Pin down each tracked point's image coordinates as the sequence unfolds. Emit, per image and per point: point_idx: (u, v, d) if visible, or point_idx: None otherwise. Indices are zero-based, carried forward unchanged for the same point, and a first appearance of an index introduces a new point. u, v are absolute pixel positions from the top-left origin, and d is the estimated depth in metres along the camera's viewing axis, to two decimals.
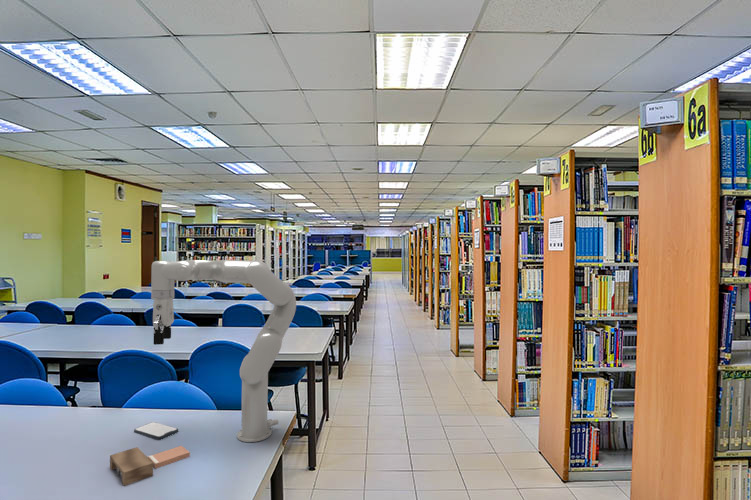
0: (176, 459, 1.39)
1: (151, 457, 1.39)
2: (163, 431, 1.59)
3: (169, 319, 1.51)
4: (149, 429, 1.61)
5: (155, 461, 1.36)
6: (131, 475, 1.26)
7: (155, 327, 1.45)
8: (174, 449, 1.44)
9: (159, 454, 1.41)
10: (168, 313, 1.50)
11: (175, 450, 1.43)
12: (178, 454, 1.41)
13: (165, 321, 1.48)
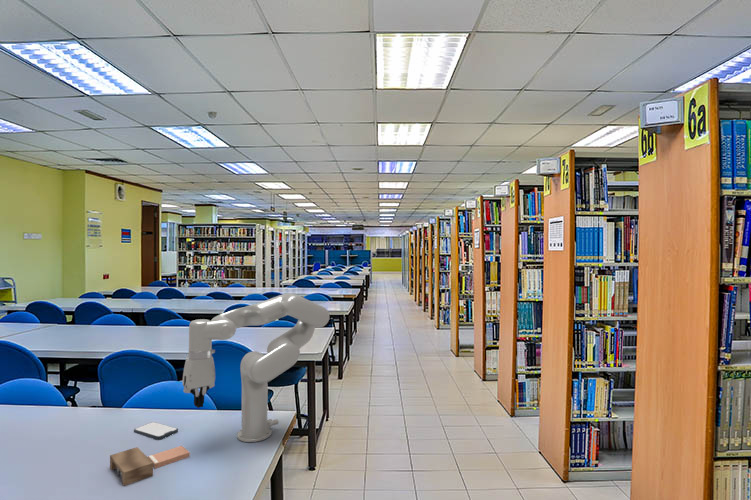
0: (176, 459, 1.39)
1: (151, 457, 1.39)
2: (163, 431, 1.59)
3: None
4: (149, 429, 1.61)
5: (155, 461, 1.36)
6: (131, 475, 1.26)
7: None
8: (174, 449, 1.44)
9: (159, 454, 1.41)
10: None
11: (175, 450, 1.43)
12: (178, 454, 1.41)
13: None
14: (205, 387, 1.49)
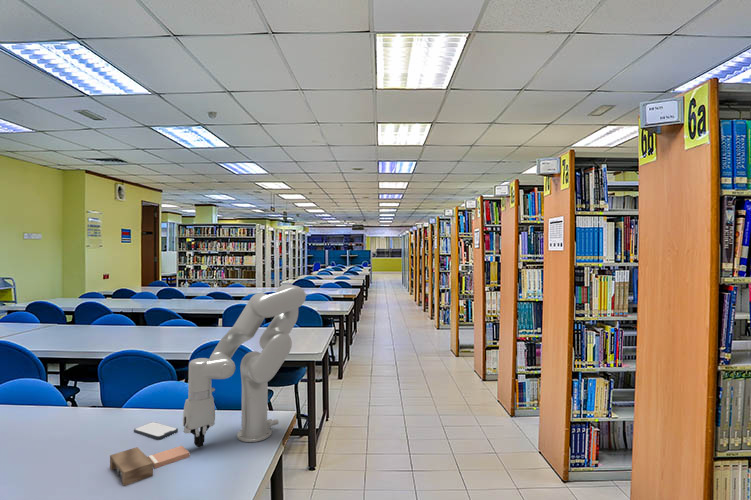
0: (176, 459, 1.39)
1: (151, 457, 1.39)
2: (163, 431, 1.59)
3: None
4: (149, 429, 1.61)
5: (155, 461, 1.36)
6: (131, 475, 1.26)
7: None
8: (174, 449, 1.44)
9: (159, 454, 1.41)
10: None
11: (175, 451, 1.43)
12: (178, 454, 1.41)
13: None
14: (205, 426, 1.49)
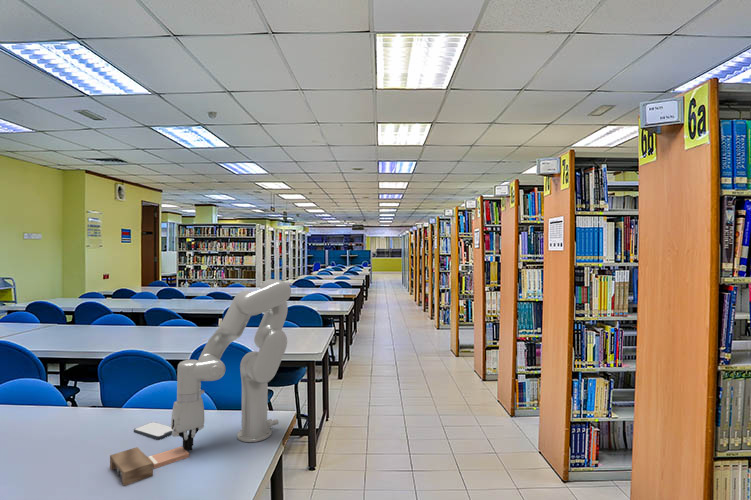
0: (175, 460, 1.39)
1: (150, 457, 1.39)
2: (163, 431, 1.59)
3: None
4: (149, 429, 1.61)
5: (154, 462, 1.36)
6: (131, 475, 1.26)
7: None
8: (174, 450, 1.44)
9: (159, 454, 1.41)
10: None
11: (175, 451, 1.43)
12: (177, 455, 1.41)
13: None
14: (194, 429, 1.46)
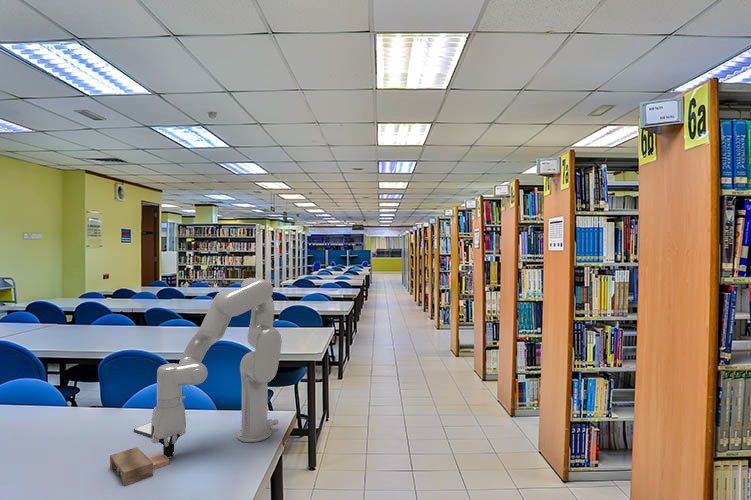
0: (155, 467, 1.34)
1: None
2: None
3: None
4: (149, 429, 1.61)
5: None
6: (131, 475, 1.26)
7: None
8: (153, 456, 1.39)
9: None
10: None
11: (154, 458, 1.38)
12: (157, 462, 1.36)
13: None
14: (175, 435, 1.41)
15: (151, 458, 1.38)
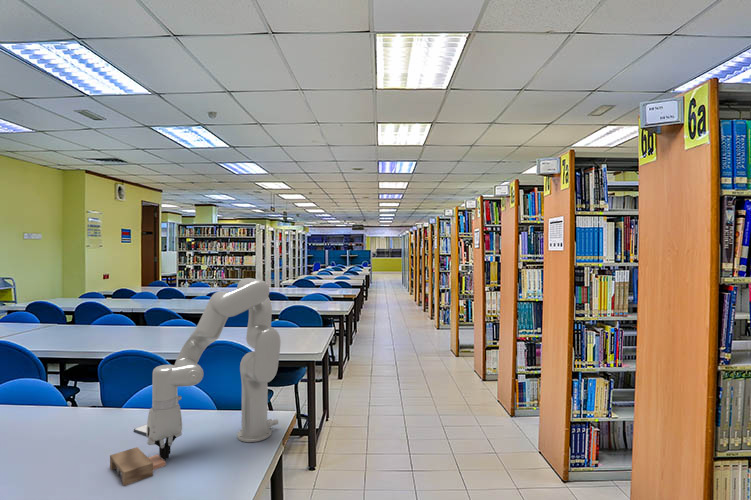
0: None
1: None
2: None
3: None
4: None
5: None
6: (131, 475, 1.26)
7: None
8: (149, 458, 1.38)
9: None
10: None
11: None
12: (153, 464, 1.35)
13: None
14: (171, 437, 1.40)
15: None
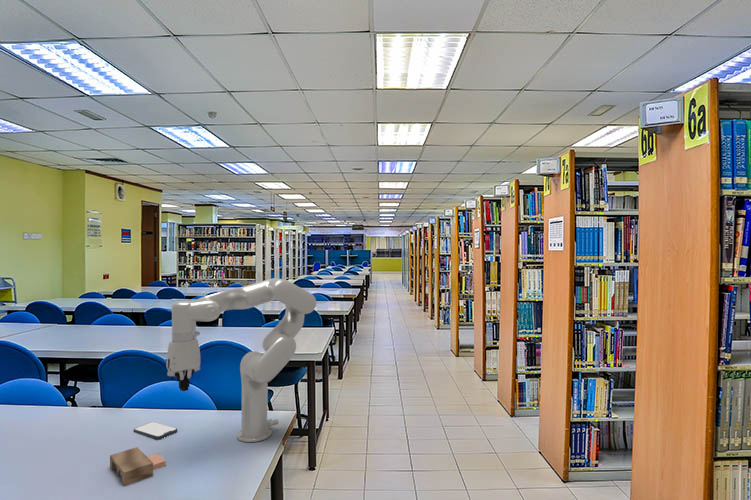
0: None
1: None
2: (162, 431, 1.59)
3: None
4: (148, 429, 1.62)
5: None
6: (131, 475, 1.26)
7: None
8: (149, 457, 1.38)
9: None
10: None
11: (150, 459, 1.37)
12: (153, 463, 1.35)
13: None
14: (190, 370, 1.45)
15: None
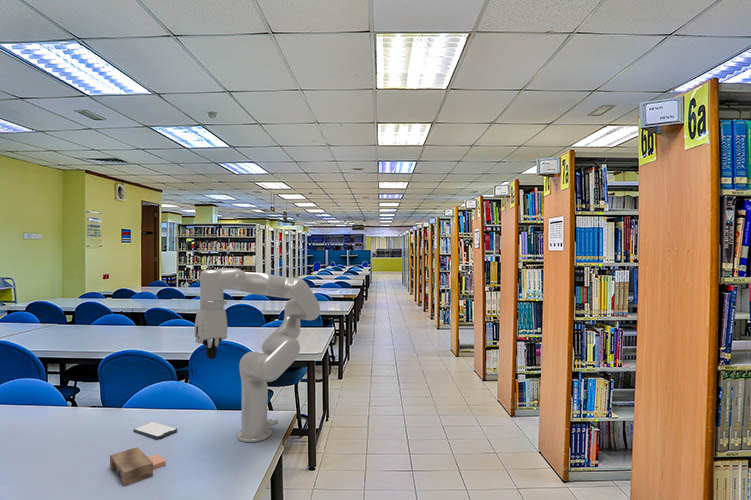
0: None
1: None
2: (162, 431, 1.59)
3: None
4: (148, 429, 1.62)
5: None
6: (131, 475, 1.26)
7: None
8: (149, 457, 1.38)
9: None
10: None
11: (150, 459, 1.37)
12: (153, 463, 1.35)
13: None
14: (217, 338, 1.45)
15: None
